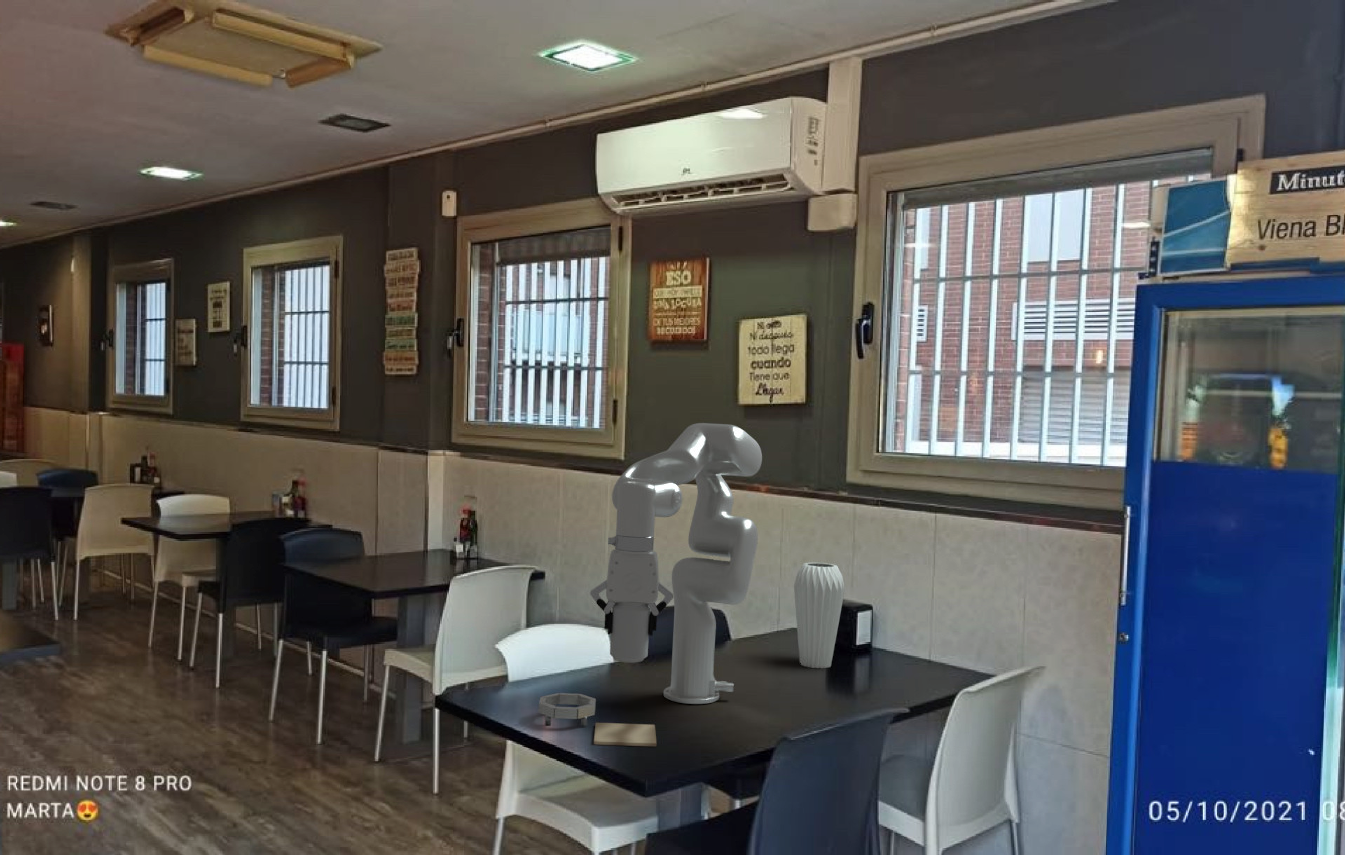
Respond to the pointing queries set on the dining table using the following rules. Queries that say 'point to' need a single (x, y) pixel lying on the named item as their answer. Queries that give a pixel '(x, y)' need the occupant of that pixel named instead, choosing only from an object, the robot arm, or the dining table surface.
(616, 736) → the cork pad
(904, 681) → the dining table surface
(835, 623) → the vase
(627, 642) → the can
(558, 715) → the ring stand
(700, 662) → the robot arm
